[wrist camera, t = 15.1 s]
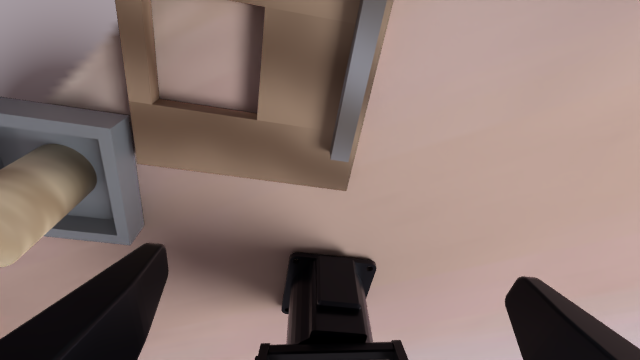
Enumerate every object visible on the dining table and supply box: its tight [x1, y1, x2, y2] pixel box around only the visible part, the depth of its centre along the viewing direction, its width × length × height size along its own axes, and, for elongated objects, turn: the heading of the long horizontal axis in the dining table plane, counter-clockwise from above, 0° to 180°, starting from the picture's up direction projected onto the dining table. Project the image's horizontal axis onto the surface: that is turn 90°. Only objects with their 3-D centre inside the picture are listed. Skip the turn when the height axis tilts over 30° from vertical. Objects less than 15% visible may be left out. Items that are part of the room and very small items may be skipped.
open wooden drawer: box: [115, 0, 393, 191], centre depth 15 cm, size 18×12×2 cm
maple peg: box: [0, 144, 97, 267], centre depth 17 cm, size 4×4×6 cm
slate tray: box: [0, 97, 144, 245], centre depth 19 cm, size 8×8×2 cm
